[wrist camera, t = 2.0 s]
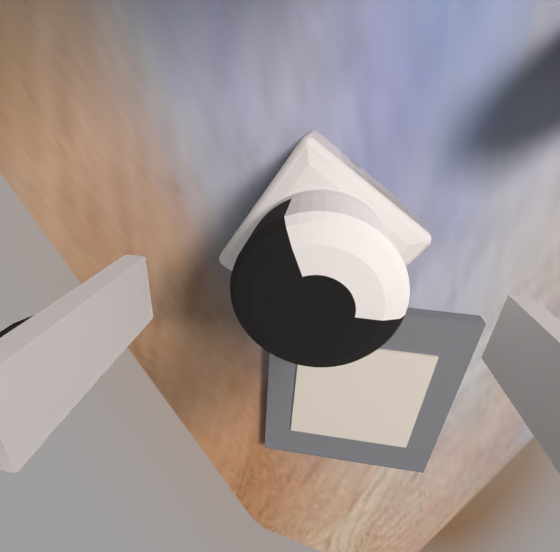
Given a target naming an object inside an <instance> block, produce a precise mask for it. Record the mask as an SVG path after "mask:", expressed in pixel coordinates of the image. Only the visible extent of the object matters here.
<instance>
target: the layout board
mask: <svg viewBox="0 0 560 552" xmlns="http://www.w3.org/2000/svg"><path fill="white" fill-rule="evenodd" d="M485 324H486V323H485V322H484V320H483V319H482V318H481V317H480V316H475V315H466V314H457V313H448V312H440V311H431V310H422V309H413V308H407V311H406V314H405V316H404V318H403V321H402V323H401V325H400V326H399V328H398V329H397V331H396V332H395V334H394V335H393V336H392V337H391V338H390V339H389V340H388V341H387V342H386V343H385V344H384V345H383V346H381V347H380V348H379V349H378V350H376V351H374V352H373V353H371V354H370V355H368V356H366V357H364V358H362V359H359V360H357V361H355V362H352V363H349V364H345V365H340V366H335V367H308V366H302V365H297V364H293V363H291V362H288V361H285V360H283V359H280V358H278V357H276V356H274V355H273V354H271V353H270V354H269V373H268V392H267V411H266V430H265V448H269V449H276V450H282V451H288V452H295V453H301V454H307V455H314V456H320V457H327V458H333V459H339V460H346V461H352V462H358V463H365V464H371V465H378V466H384V467H390V468H397V469H403V470H409V471H416V472H422V473H423V472H424V470H425V467H426V465H427V462H428V460H429V458H430V455H431V453H432V451H433V448H434V446H435V443H436V441H437V439H438V436H439V434H440V432H441V429H442V427H443V424H444V422H445V420H446V417H447V415H448V413H449V410H450V408H451V405H452V403H453V401H454V398H455V396H456V393H457V391H458V389H459V386H460V384H461V382H462V379H463V377H464V374H465V372H466V370H467V367H468V365H469V363H470V360H471V358H472V355H473V353H474V351H475V348H476V346H477V343H478V341H479V339H480V336H481V334H482V332H483V329H484V327H485Z"/></svg>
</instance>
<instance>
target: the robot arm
mask: <svg viewBox="0 0 560 552" xmlns="http://www.w3.org/2000/svg"><path fill="white" fill-rule="evenodd" d="M152 319H153V311H152V304H151V296H150V289H149V282H148V275H147V267H146V260H145V256H135V255H124V256H123V257H121V258H120V259H118V260H117V261H115V262H114V263H112V264H111V265H109V266H108V267H106V268H105V269H103V270H102V271H100V272H99V273H97V274H96V275H94V276H93V277H91V278H90V279H88V280H87V281H85V282H84V283H82V284H81V285H79V286H78V287H76V288H75V289H73V290H72V291H70V292H69V293H67V294H66V295H64V296H63V297H61V298H60V299H58V300H57V301H55V302H54V303H52V304H51V305H49V306H48V307H46V308H44V309H43V310H42V311H40V312H39V313H37V314H35V315H33V316H31V317H28V318H26V319H23V320H21V321H19V322H16V323H14V324H12V325H10V326H9V327H7V328H6V329H4V330H3V331H1V332H0V470H2V471H8V472H14V473H17V472H18V471H19V470H20V469H21V468H22V466H23V465H24V464H25V463H26V462H27V461H28V460H29V458H30V457H31V456H32V455H33V454H34V453H35V452H36V450H37V449H38V448H39V447H40V446H41V445H42V444H43V443H44V441H45V440H46V439H47V438H48V437H49V436H50V434H51V433H52V432H53V431H54V430H55V429H56V428H57V427H58V425H59V424H60V423H61V422H62V421H63V420H64V419H65V417H66V416H67V415H68V414H69V413H70V412H71V411H72V410H73V408H74V407H75V406H76V405H77V404H78V403H79V402H80V400H81V399H82V398H83V397H84V396H85V395H86V394H87V392H88V391H89V390H90V389H91V388H92V387H93V386H94V384H95V383H96V382H97V381H98V380H99V378H101V377H102V375H103V374H104V373H105V372H106V371H107V370H108V369H109V367H110V366H111V365H112V364H113V363H114V362H115V361H116V359H117V358H118V357H119V356H120V355H121V354H122V352H124V350H125V349H126V348H127V347H128V346H129V345H130V344H131V342H132V341H133V340H134V339H135V338H136V337H137V336H138V334H139V333H140V332H141V331H142V330H143V329H144V328H145V327H146V325H147V324H148V323H149V322H150V321H151V320H152ZM482 359H483V360H484V362H485V363H486V365H487V366H488V368H489V369H490V371H491V372H492V374H493V375H494V377H495V378H496V380H497V381H498V383H499V384H500V386H501V387H502V389H503V390H504V392H505V393H506V395H507V396H508V398H509V399H510V401H511V402H512V404H513V405H514V407H515V408H516V410H517V411H518V413H519V414H520V416H521V417H522V419H523V420H524V422H525V423H526V425H527V426H528V428H529V429H530V431H531V432H532V434H533V435H534V437H535V438H536V440H537V441H538V443H539V444H540V445H541V447H542V448H543V450H544V451H545V453H546V454H547V456H548V457H549V459H550V460H551V462H552V463H553V465H554V466H555V468H556V469H557V471H558V472H559V474H560V321H559V320H558V319H557V318H556V317H555V316H553V315H552V314H551V313H550V312H549V311H547V310H546V309H545V308H544V307H543V306H542V305H540V304H539V303H538V302H537V301H536V300H534V299H533V298H532V297H523V296H514V295H508V297H507V300H506V302H505V304H504V307H503V309H502V311H501V314H500V316H499V318H498V321H497V323H496V325H495V328H494V330H493V333H492V335H491V337H490V340H489V342H488V344H487V347H486V349H485V351H484V354H483V356H482Z"/></svg>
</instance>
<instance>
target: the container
mask: <svg viewBox="0 0 560 552" xmlns="http://www.w3.org/2000/svg"><path fill="white" fill-rule="evenodd" d="M430 243H431V236H430V234H429V233H428V232H427V231H426V229H425V228H424V227H423V226H422V225H421V224H420V223H419V222H418V220H417V219H416V218H415V217H414V216H413V215H412V214H411V213H410V211H409V210H408V209H407V208H406V207H405V206H404V205H403V203H402V202H401V201H400V200H399V199H398V198H397V197H395V196H394V195H393V194H392V193H391V192H389V191H388V190H387V189H386V188H385V187H383V186H382V185H381V184H380V183H379V182H377V181H376V180H375V179H374V178H373V177H371V176H370V175H369V174H368V173H367V172H365V171H364V170H363V169H362V168H361V167H359V166H358V165H357V164H356V163H354V162H353V161H352V160H351V159H350V158H348V157H347V156H346V155H345V154H344V153H342V152H341V151H340V150H339V149H338V148H336V147H335V146H334V145H333V144H332V143H330V142H329V141H328V140H327V139H326V138H324V137H323V136H322V135H321V134H320V133H318V132H317V131H315V130H312V131H310V132H309V133H308V134H306V135H305V136H304V137H303V138H302V139H301V140H300V141H299V143H298V144H297V146H296V147H295V148H294V150H293V151H292V153H291V154H290V156H289V157H288V158H287V160H286V161H285V163H284V164H283V165H282V167H281V168H280V170H279V171H278V173H277V174H276V175H275V177H274V178H273V180H272V181H271V183H270V184H269V185H268V187H267V188H266V190H265V191H264V193H263V194H262V195H261V197H260V198H259V200H258V201H257V203H256V204H255V205H254V207H253V208H252V210H251V211H250V213H249V214H248V215H247V217H246V218H245V220H244V221H243V223H242V224H241V225H240V227H239V228H238V230H237V231H236V233H235V234H234V235H233V237H232V238H231V240H230V241H229V242H228V244H227V245H226V247H225V248H224V250H223V251H222V252H221V254H220V257H219V261H220V263H221V264H222V265H223V266H225V267H226V268H227V269H229V270H230V271H232V274H231V282H230V292H231V300H232V305H233V308H234V311H235V313H236V316H237V318H238V320H239V322H240V324H241V325H242V327H243V328H244V330H245V331H246V332H247V333H248V335H249V336H250V337H251V338H252V339H253V340H254V341H255V342H256V343H257V344H259V345H260V346H261V347H262V348H264V349H265V350H266V351H268V352H270V353H271V354H273V355H274V356H276V357H278V358H280V359H283V360H285V361H288V362H291V363H293V364H297V365H302V366H308V367H335V366H340V365H345V364H349V363H352V362H355V361H357V360H359V359H362V358H364V357H366V356H368V355H370V354H371V353H373V352H374V351H376V350H378V349H379V348H380V347H381V346H383V345H384V344H385V343H386V342H387V341H388V340H389V339H390V338H391V337H392V336H393V335H394V334H395V332H396V331H397V329H398V328H399V326H400V325H401V323H402V321H403V318H404V316H405V314H406V311H407V307H408V303H409V295H410V286H409V278H408V273H407V269H406V266H407V265H408V264H409V263H410V262H411V261H412V260H414V259H415V258H416V257H417V256H418V255H419V254H420V253H421V252H422V251H423V250H424V249H425V248H426V247H427V246H429V244H430Z"/></svg>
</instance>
